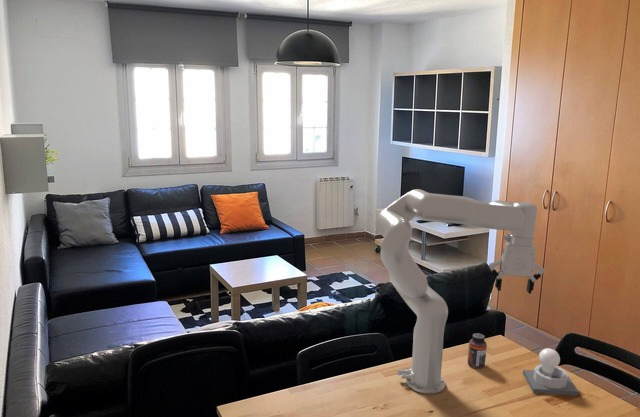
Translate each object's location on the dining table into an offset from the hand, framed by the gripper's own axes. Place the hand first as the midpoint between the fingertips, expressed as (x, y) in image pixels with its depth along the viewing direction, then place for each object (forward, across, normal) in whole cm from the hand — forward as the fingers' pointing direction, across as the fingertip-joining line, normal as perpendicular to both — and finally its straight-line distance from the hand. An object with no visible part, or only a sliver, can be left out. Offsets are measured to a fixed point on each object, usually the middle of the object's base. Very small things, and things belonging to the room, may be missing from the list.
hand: (513, 290), depth 172 cm
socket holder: (+30, +15, -3) cm, 34 cm away
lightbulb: (+29, +14, -3) cm, 32 cm away
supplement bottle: (+31, -8, +6) cm, 33 cm away
